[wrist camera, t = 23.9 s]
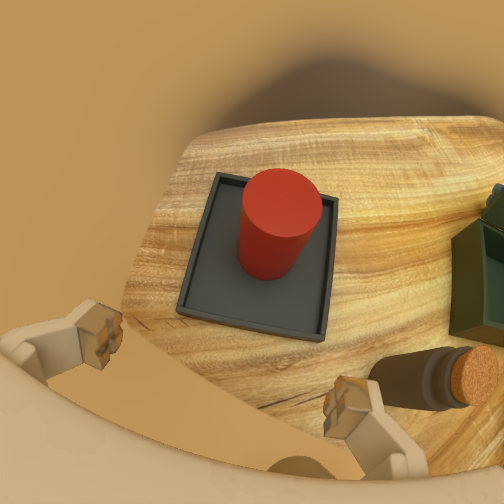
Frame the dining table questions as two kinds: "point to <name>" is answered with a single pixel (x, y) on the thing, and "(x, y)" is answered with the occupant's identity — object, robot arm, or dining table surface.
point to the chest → (478, 284)
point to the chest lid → (495, 211)
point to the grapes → (494, 193)
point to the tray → (252, 289)
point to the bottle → (437, 378)
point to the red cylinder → (276, 221)
